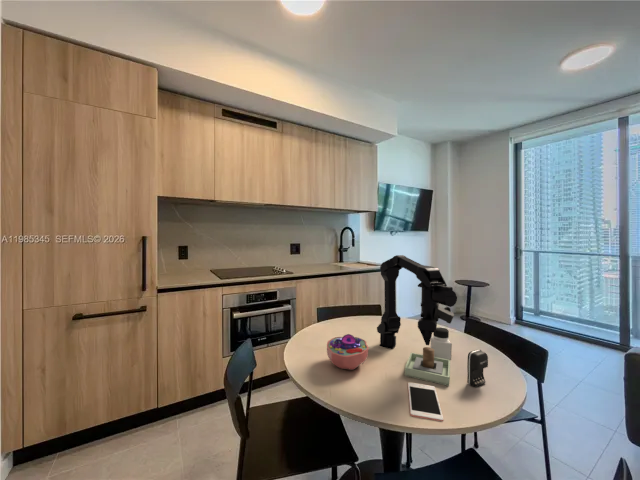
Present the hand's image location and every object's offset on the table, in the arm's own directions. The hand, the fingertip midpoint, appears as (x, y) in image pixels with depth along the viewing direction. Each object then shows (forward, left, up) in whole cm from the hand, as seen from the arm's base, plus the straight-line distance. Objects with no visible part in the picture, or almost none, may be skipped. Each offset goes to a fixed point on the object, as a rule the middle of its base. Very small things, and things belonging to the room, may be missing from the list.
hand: (428, 340), depth 106 cm
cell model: (-30, -9, -12) cm, 33 cm away
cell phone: (0, -20, -12) cm, 24 cm away
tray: (0, 0, -12) cm, 12 cm away
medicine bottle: (+3, +18, -12) cm, 22 cm away
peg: (0, 0, -11) cm, 11 cm away
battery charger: (+16, -1, -12) cm, 21 cm away
